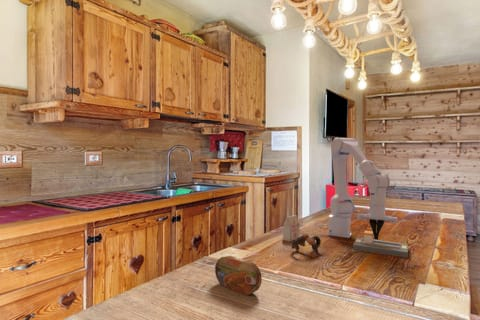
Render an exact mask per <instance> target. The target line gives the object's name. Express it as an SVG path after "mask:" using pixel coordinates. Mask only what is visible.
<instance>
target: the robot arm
mask: <svg viewBox="0 0 480 320" xmlns="http://www.w3.org/2000/svg"><path fill="white" fill-rule="evenodd" d="M330 147H331V148H330V150H331V156H332V157H331V158H332V168H333V169H332V171H333V180H334V190H335V191H334V192H335V194H334V195H333V196H332V197H331V198H330V205H329V211H330V213H331V214H329V216H328V219H327V220H328V222H327V225H328V226H327V236H332V237H338V238H346V239H350V238H351V237H352V234H353V233H352V232H351V217H352V216H353V214H354V212H355V210H356V206H355V203H354V200H353V197H352V196H351V195H350V194H349V192H348V190H349V189H348V180H347V171H346V170H347V169H346V159H347V157H350V155H351V157H352V158H353V159H354V160H355V161H356V162H357V163H358V165H359V167H358V168H359V170H360V172H361V173H362V175H363V176H364V178H366V184H367V187H368V192H369V213H360V212H359V213H357V215H356V218H357V219H356V220H366V221H369V222H368V223H369V225H370V228H371V231H373V239H374V240H379V235H380V232H381V230H382V228H383V226H384V225H385V222H386V223H393V224H398V217H397V216H390V215H386V199H387V188H389V186H390V184H391V183H390V182H391V180H390V177H389V175H388V174H386V173H383V172H381V170H380V169H379V168H378V167H377V166H376V165H375V162H374V161H372V160H370V159H367V158H366V156H365V155H364V152H362V150H361V148H360V147H359V142H358V141H357V139H356V138H354V137H334V139H332V142H331V143H330Z"/></svg>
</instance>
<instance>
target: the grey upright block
mask: <svg viewBox="0 0 480 320" xmlns="http://www.w3.org/2000/svg"><path fill="white" fill-rule="evenodd" d="M300 227H301V224H300V221H299V219H298V215H296V214H295V215H290V216H287V217H285V222H284V223H283V226H282V241H285V240H286V242H290V241H291V242H292V241H293V240H297V238H299V237H300V232H301V231H300ZM291 242H290V243H291Z"/></svg>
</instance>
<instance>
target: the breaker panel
mask: <svg viewBox="0 0 480 320" xmlns="http://www.w3.org/2000/svg"><path fill="white" fill-rule="evenodd" d="M354 240H355V241H354V242H353V244H352V250H353V251H360V252H366V253H371V254H380V255H385V256H386V255H387V256H393V257H400V258H404V259H405V258H406V259H408V258H409V249H408V248H409V246H408V243H403V242H394V241H387V240H380V239H378V240H376V239H374V238H373V242H372V243H367V242H364V237H357V236H356V239H354Z"/></svg>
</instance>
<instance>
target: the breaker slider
mask: <svg viewBox="0 0 480 320" xmlns="http://www.w3.org/2000/svg"><path fill="white" fill-rule="evenodd" d="M363 238H364V242H367V243H372V242H373V239H374V234H373V230H365V231H364V232H363Z"/></svg>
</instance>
